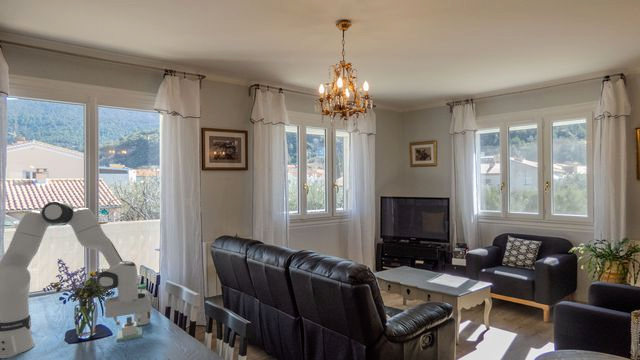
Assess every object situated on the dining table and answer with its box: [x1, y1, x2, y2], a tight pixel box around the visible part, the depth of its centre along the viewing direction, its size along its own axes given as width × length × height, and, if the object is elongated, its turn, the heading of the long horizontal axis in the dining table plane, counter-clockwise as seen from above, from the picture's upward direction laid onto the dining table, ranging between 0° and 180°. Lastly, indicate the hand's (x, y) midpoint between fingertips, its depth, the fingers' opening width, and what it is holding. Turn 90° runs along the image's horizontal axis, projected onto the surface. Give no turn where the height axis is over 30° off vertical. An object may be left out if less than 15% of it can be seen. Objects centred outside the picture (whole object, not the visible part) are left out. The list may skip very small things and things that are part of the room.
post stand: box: [116, 316, 143, 342], centre depth 194 cm, size 11×11×9 cm
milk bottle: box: [133, 284, 151, 327], centre depth 209 cm, size 8×8×20 cm
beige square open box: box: [121, 321, 137, 336], centre depth 194 cm, size 6×6×4 cm
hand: (128, 323), depth 194 cm, fingers open, 8 cm apart
